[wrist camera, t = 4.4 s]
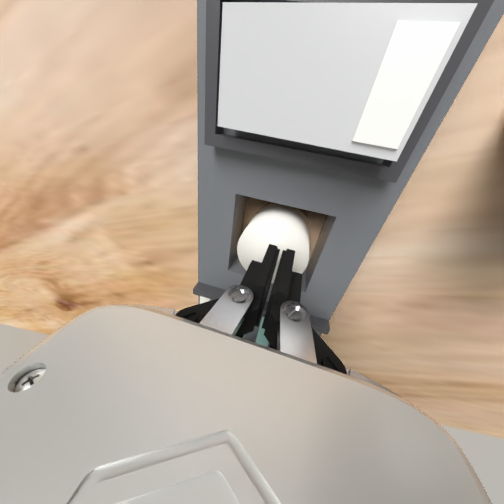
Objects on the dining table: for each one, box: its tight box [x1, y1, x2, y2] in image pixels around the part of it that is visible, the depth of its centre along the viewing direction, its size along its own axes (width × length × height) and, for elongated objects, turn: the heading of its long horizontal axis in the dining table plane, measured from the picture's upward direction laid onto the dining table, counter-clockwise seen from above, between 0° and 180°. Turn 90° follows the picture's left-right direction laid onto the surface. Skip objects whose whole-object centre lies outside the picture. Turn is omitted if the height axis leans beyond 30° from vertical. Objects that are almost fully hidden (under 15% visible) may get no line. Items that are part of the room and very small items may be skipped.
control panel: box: [193, 0, 504, 342], centre depth 15 cm, size 12×30×4 cm, turn 171°
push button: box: [237, 203, 309, 283], centre depth 15 cm, size 5×5×4 cm
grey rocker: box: [218, 2, 478, 162], centre depth 8 cm, size 8×4×1 cm, turn 82°
